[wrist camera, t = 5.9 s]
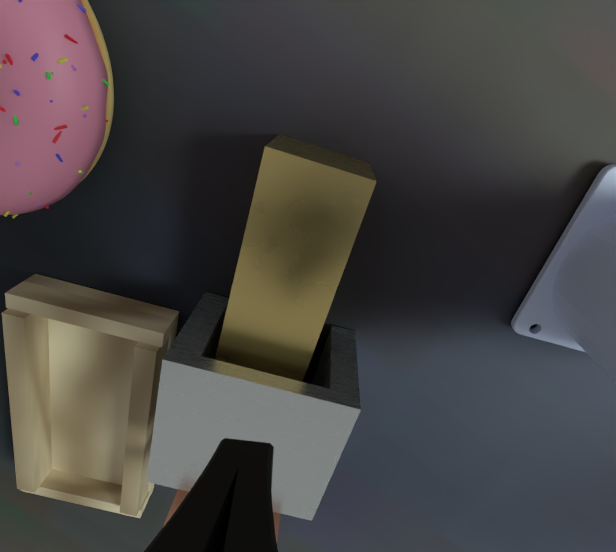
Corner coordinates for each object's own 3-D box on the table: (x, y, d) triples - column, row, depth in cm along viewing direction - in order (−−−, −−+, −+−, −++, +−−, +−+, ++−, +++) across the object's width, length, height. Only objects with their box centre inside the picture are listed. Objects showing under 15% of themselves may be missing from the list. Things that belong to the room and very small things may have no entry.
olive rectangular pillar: (280, 133, 16) (264, 146, 13) (368, 161, 16) (376, 181, 13) (235, 313, 20) (214, 360, 17) (307, 334, 20) (301, 384, 17)
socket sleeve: (355, 331, 20) (360, 409, 15) (316, 429, 23) (311, 520, 18) (205, 291, 19) (162, 359, 15) (186, 397, 22) (146, 481, 18)
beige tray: (179, 311, 20) (160, 338, 18) (153, 488, 26) (137, 524, 24) (35, 273, 20) (-3, 297, 17) (43, 462, 26) (16, 496, 23)
